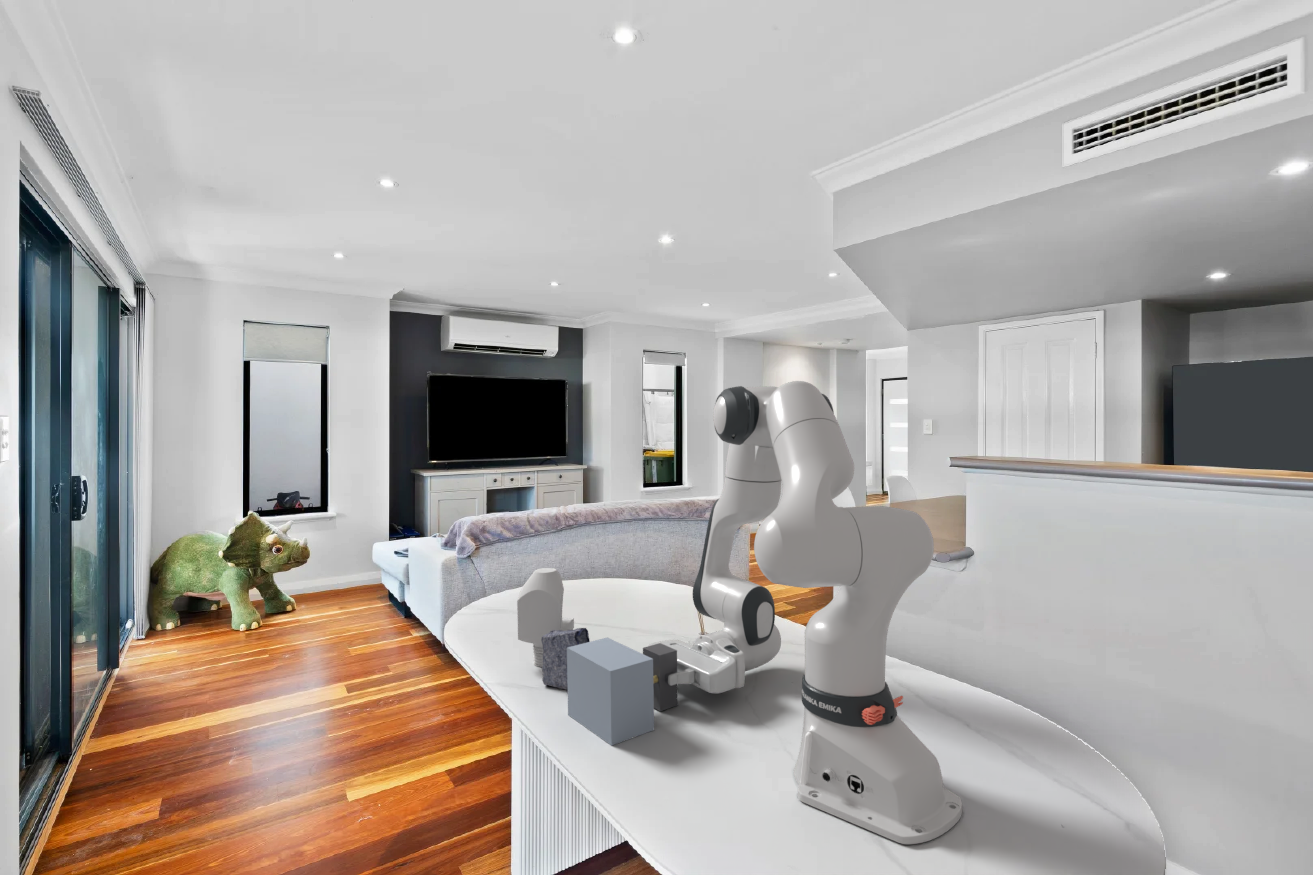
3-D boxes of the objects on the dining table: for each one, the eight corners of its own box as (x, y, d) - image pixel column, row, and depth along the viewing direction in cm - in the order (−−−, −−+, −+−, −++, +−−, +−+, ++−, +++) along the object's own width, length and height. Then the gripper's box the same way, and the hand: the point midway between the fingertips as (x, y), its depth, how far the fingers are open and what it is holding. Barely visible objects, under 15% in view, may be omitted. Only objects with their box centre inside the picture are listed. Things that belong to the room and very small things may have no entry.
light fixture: (561, 671, 135) (559, 575, 134) (518, 669, 136) (516, 574, 136) (574, 655, 144) (572, 565, 144) (534, 653, 146) (532, 564, 145)
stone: (602, 686, 131) (584, 690, 122) (556, 691, 133) (536, 696, 124) (596, 625, 135) (578, 624, 126) (552, 631, 137) (532, 631, 128)
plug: (678, 704, 118) (677, 650, 118) (641, 717, 113) (641, 660, 113) (661, 695, 122) (660, 642, 122) (625, 707, 117) (624, 652, 117)
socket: (655, 729, 109) (654, 658, 109) (611, 745, 104) (610, 671, 103) (609, 701, 120) (608, 636, 120) (568, 714, 115) (566, 647, 115)
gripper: (679, 627, 134) (623, 642, 126) (750, 655, 118) (691, 673, 110) (679, 658, 135) (624, 674, 126) (750, 689, 118) (692, 710, 110)
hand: (656, 674), depth 118 cm, fingers closed on plug, 5 cm apart
